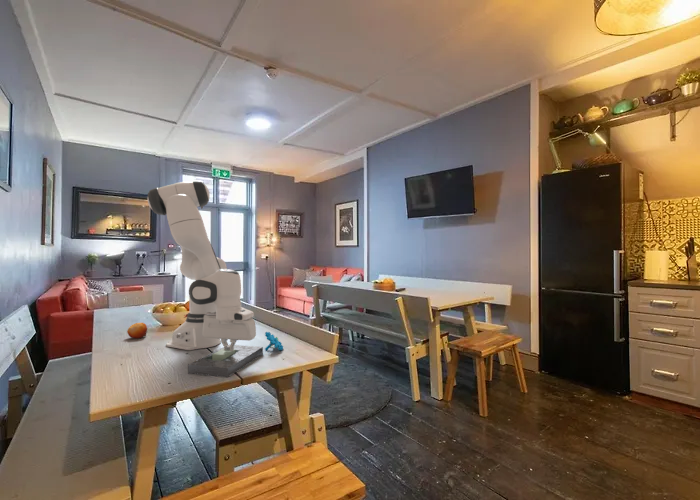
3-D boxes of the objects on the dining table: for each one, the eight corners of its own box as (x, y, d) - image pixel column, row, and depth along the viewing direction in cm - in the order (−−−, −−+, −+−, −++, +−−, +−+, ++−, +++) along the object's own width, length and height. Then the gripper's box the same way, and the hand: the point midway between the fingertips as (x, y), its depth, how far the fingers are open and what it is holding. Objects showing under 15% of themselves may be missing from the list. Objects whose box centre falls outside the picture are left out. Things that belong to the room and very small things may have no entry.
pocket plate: (188, 373, 113) (188, 364, 113) (229, 352, 137) (229, 344, 137) (227, 377, 110) (227, 368, 110) (262, 354, 133) (262, 347, 133)
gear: (281, 349, 134) (264, 331, 135) (271, 360, 133) (253, 342, 134) (287, 345, 145) (271, 329, 146) (277, 355, 144) (261, 338, 145)
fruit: (154, 333, 162) (145, 320, 159) (139, 344, 157) (130, 332, 153) (146, 330, 167) (137, 318, 163) (131, 342, 161) (121, 329, 157)
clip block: (224, 366, 120) (212, 365, 121) (235, 359, 126) (223, 358, 128) (224, 355, 120) (212, 354, 121) (235, 349, 126) (223, 348, 128)
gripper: (198, 313, 123) (198, 351, 123) (249, 316, 118) (249, 355, 118) (209, 310, 129) (209, 346, 129) (257, 312, 124) (258, 350, 124)
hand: (228, 350), depth 123 cm, fingers closed
